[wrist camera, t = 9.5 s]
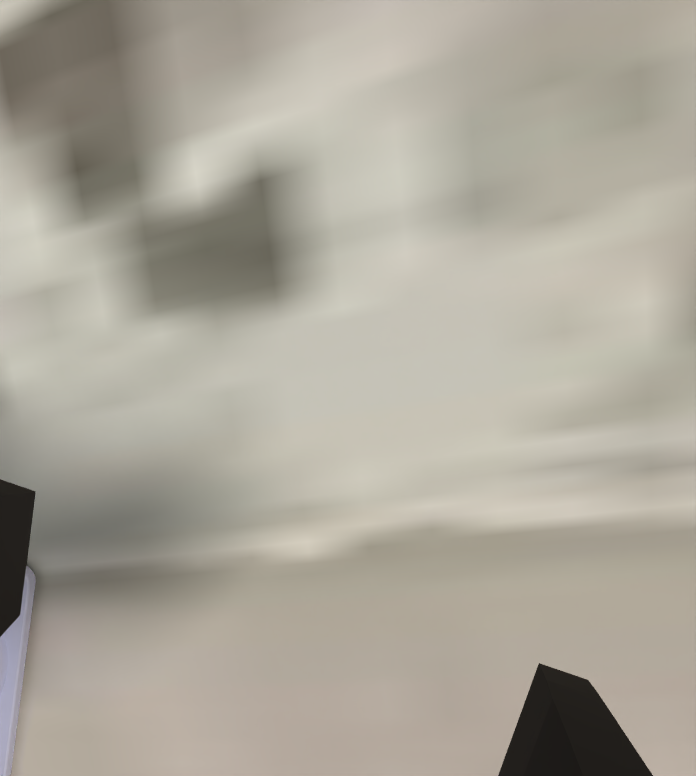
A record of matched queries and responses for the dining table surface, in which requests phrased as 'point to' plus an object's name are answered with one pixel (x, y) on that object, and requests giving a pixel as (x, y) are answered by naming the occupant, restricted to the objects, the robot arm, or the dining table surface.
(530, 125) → the dining table surface
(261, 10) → the dining table surface
